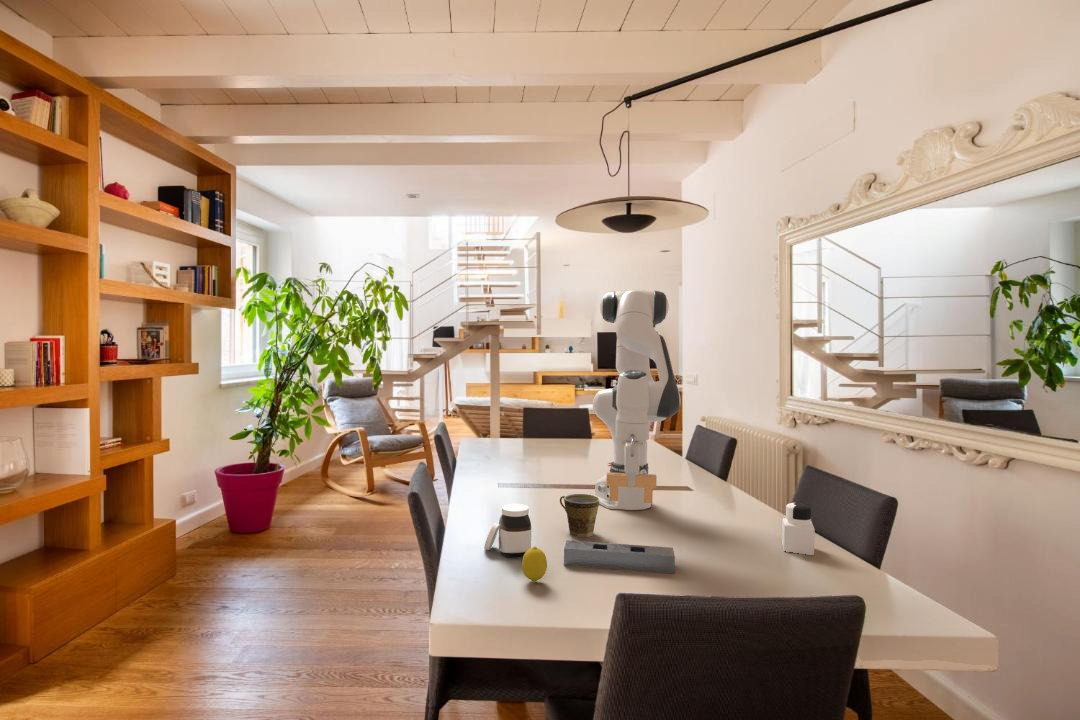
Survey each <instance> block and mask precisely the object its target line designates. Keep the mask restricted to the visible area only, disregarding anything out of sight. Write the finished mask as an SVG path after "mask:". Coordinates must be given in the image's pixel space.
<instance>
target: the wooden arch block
mask: <svg viewBox="0 0 1080 720" xmlns="http://www.w3.org/2000/svg"><path fill="white" fill-rule="evenodd" d="M606 474H607V483H606V486H610V501H618V487H636V488H644V503H651V504H653V495H654V494H653V490H654V489H657V479H658V477H657V474H653V473H651V474H650V473H648V474H638V475H635V486H628V474H625V473H612V472H610V471H607V472H606Z"/></svg>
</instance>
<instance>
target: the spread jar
mask: <svg viewBox="0 0 1080 720" xmlns="http://www.w3.org/2000/svg"><path fill="white" fill-rule="evenodd" d="M529 509H530V508H529V506H528V505H526V504H522V503H508V504H505V505H503V506H502V507H501V515H500V517H499V522H498V523H495V522H494V523H493V525H492V526H491V528H490V530H489V532H488V534H487V537H486V540H485V543H484V547H483V548H484V550H487V551H490V550H491V548H492V547H493V546H494V543H495V540H496V538H497V535H498V549H499V552H500V554H501V555H502V556H503V557H506V558H511V559H516V558H517V559H518V558H523V557H524V554H525V553H526V551H527V550H529V549H530V548H532V522H531V517H530V515H529Z"/></svg>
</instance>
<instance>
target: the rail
mask: <svg viewBox="0 0 1080 720" xmlns="http://www.w3.org/2000/svg"><path fill="white" fill-rule="evenodd" d="M675 558H676V556H675V551H674V547H671V546H669V547H668V546H655V545H641V544H640V545H638V544H625V543H611V542H599V541H597V542H596V541H594V542H593V541H582V540H566V541H565V545H564V548H563V566H569V567H570V566H572V567H584V568H597V569H613V570H624V571H635V572H636V571H637V572H639V571H640V572H647V573H649V572H652V573H661V574H663V573H665V574H675V571H676V570H675V568H676V567H675V566H676V565H675V564H676V563H675V561H676V559H675Z"/></svg>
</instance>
